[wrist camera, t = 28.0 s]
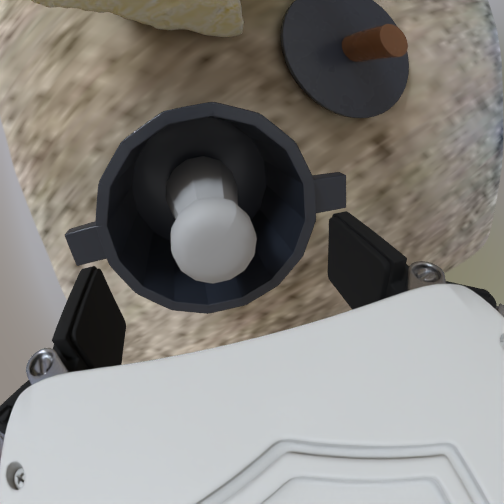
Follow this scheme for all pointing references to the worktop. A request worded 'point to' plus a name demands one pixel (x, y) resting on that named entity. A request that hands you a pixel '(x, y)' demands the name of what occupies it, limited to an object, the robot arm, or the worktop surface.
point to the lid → (346, 55)
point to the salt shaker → (208, 221)
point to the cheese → (169, 13)
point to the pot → (161, 218)
